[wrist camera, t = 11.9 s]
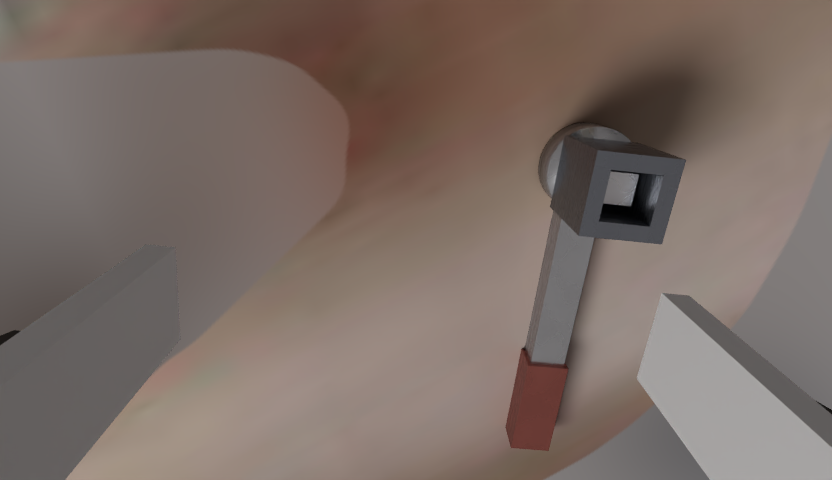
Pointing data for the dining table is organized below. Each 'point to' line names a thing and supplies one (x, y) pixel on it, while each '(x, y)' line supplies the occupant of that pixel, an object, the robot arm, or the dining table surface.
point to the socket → (587, 183)
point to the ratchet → (556, 302)
